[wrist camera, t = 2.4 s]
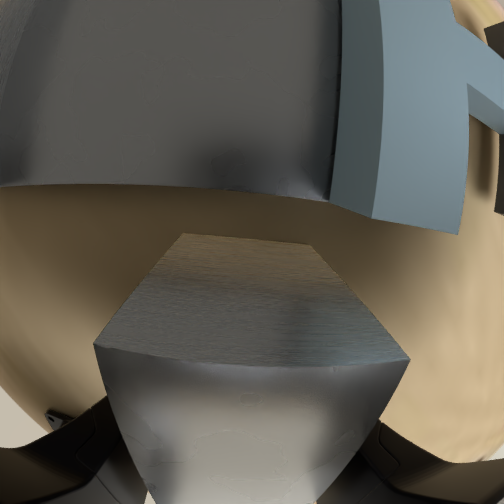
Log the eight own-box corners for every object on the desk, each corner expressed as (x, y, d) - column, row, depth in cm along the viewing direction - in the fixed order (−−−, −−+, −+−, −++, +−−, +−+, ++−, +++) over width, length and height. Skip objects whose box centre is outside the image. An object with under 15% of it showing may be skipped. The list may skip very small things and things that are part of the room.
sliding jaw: (505, 240, 8) (561, 265, 4) (329, 202, 7) (399, 230, 4) (497, 30, 5) (540, 17, 1) (337, -60, 4) (365, -108, 1)
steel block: (273, 412, 11) (289, 526, 5) (185, 407, 11) (167, 521, 5) (308, 244, 9) (410, 359, 3) (183, 232, 8) (93, 343, 3)
